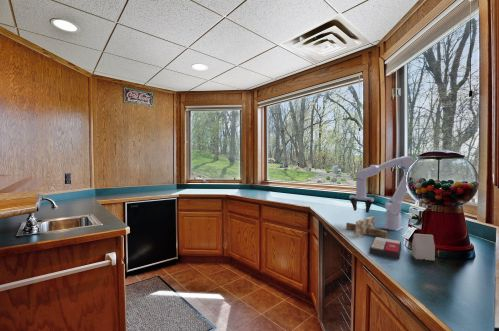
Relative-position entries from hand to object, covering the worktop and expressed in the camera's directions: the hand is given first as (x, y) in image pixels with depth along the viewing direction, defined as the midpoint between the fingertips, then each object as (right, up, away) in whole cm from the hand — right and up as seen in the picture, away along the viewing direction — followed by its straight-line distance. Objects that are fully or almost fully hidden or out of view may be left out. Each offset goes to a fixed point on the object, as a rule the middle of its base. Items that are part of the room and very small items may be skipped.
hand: (361, 211), depth 144 cm
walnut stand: (-4, -10, -13) cm, 17 cm away
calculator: (-7, -11, -38) cm, 41 cm away
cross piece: (-4, -10, -13) cm, 16 cm away
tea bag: (+4, -11, -46) cm, 47 cm away
